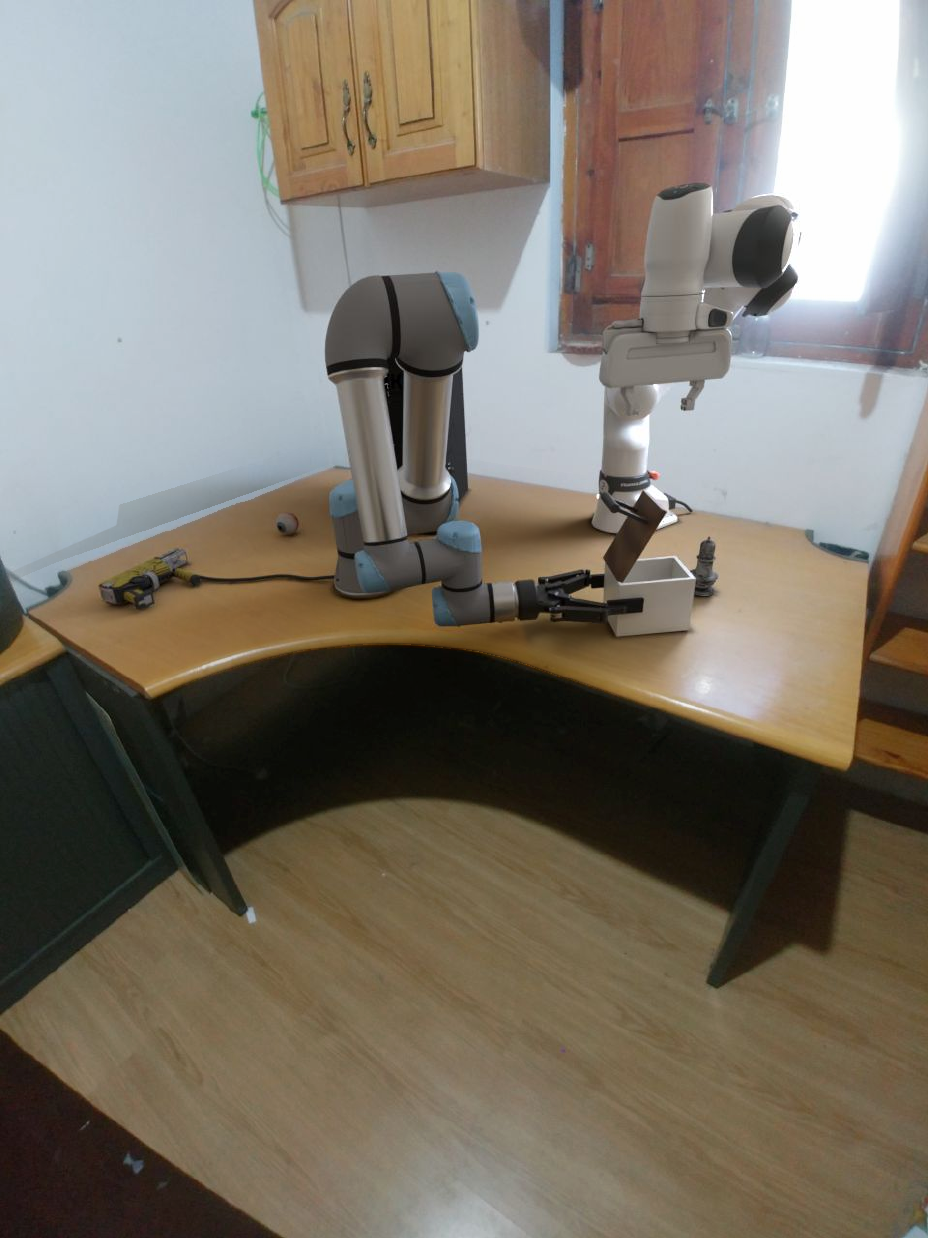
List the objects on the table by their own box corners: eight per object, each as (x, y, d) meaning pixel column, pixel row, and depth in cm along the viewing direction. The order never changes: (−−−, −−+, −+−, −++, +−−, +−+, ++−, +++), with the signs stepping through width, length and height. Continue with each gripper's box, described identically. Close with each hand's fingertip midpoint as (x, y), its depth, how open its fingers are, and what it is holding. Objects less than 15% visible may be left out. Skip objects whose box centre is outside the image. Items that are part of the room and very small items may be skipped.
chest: (670, 604, 120) (675, 555, 115) (689, 630, 112) (696, 578, 106) (602, 610, 120) (605, 561, 115) (616, 636, 112) (619, 585, 106)
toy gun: (224, 556, 146) (173, 545, 150) (148, 597, 126) (92, 584, 130) (226, 573, 148) (177, 563, 152) (152, 617, 128) (97, 603, 132)
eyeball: (273, 537, 164) (268, 516, 161) (287, 528, 169) (282, 508, 166) (291, 539, 161) (286, 518, 158) (305, 530, 166) (301, 510, 163)
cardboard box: (436, 534, 159) (422, 349, 137) (364, 531, 164) (339, 351, 141) (468, 489, 191) (460, 332, 168) (407, 487, 195) (391, 335, 173)
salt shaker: (717, 597, 122) (727, 542, 116) (687, 595, 123) (695, 541, 117) (713, 584, 127) (722, 531, 121) (684, 583, 128) (692, 530, 122)
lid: (648, 492, 108) (608, 474, 106) (667, 511, 100) (624, 492, 98) (607, 560, 115) (569, 544, 113) (622, 583, 106) (580, 566, 104)
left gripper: (507, 591, 124) (614, 582, 125) (525, 650, 104) (651, 640, 105) (506, 557, 120) (616, 549, 121) (525, 612, 100) (656, 602, 101)
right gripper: (612, 322, 86) (605, 422, 93) (744, 313, 88) (728, 410, 95) (595, 320, 91) (590, 414, 98) (720, 311, 94) (707, 403, 101)
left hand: (633, 591), depth 113 cm, fingers closed on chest, 10 cm apart
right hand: (659, 412), depth 97 cm, fingers open, 8 cm apart
